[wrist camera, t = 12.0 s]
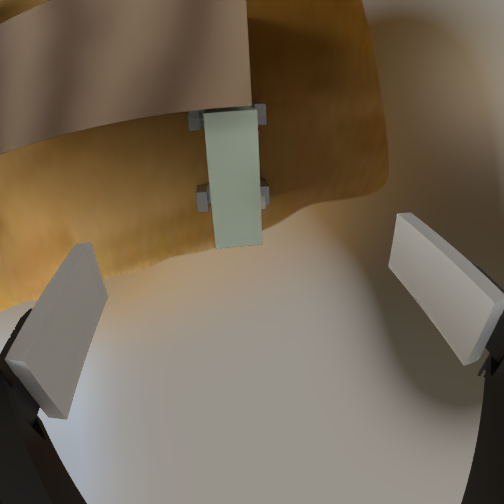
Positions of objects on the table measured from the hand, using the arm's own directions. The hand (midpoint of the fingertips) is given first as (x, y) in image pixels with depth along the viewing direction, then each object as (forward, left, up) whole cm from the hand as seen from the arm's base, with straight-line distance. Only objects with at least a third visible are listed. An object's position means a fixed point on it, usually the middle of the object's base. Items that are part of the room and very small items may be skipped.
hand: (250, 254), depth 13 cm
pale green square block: (0, 0, -20) cm, 20 cm away
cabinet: (-10, +10, -21) cm, 25 cm away
